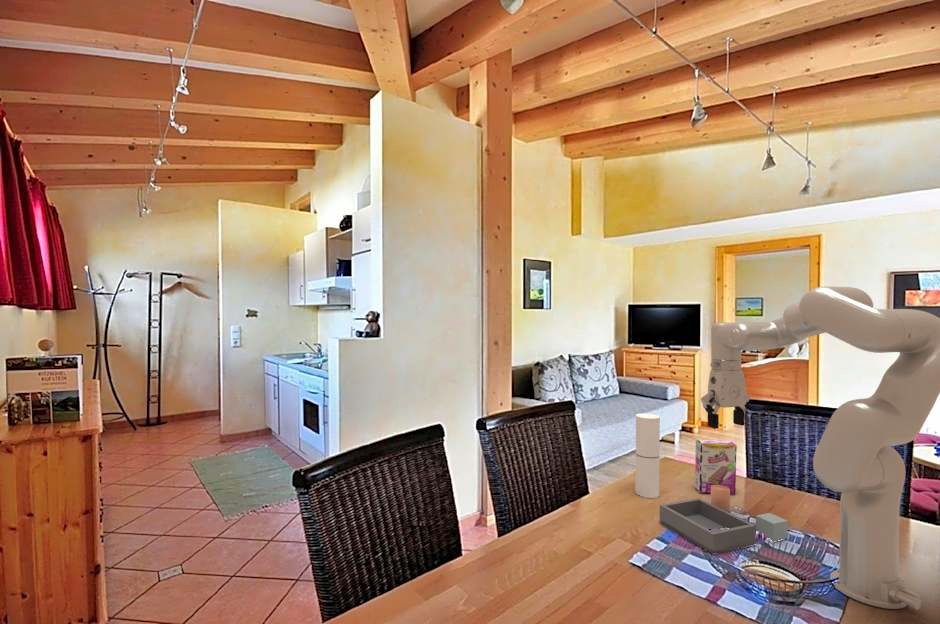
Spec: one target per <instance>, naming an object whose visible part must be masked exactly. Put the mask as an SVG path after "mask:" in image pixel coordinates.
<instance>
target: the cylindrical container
mask: <svg viewBox="0 0 940 624" xmlns="http://www.w3.org/2000/svg"><path fill="white" fill-rule="evenodd" d="M660 420H661V419H660V415H657V414H654V413H644V412H643V413H637V414H635V481H634V482H635V485H634V486H635V489H634V490H635V494H636V495H637V494H638V496H639V495H640V496H639V497H642V496H643V497H642V498H646V499H656V498H659V497H660V445H661V444H660V438H661V437H660V429H661V427H660V426H661V425H660V422H661V421H660ZM658 496H659V497H658Z"/></svg>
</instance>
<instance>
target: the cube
mask: <svg viewBox="0 0 940 624" xmlns="http://www.w3.org/2000/svg"><path fill="white" fill-rule="evenodd" d="M755 525H756V529H757V530H758V531H760V532H761V533H763V534H764V535H766V536H767V537H768V538H770V539H771V540H772V541H773V542H774V541H778V540H781V539H785V538H787V539H788V537H789V536H788V533H789V532H788V520H787V519H785V518H782V517H780V516H778V515H776V514H773V513H771V512H767V513H762V514H757V515H755Z"/></svg>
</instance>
